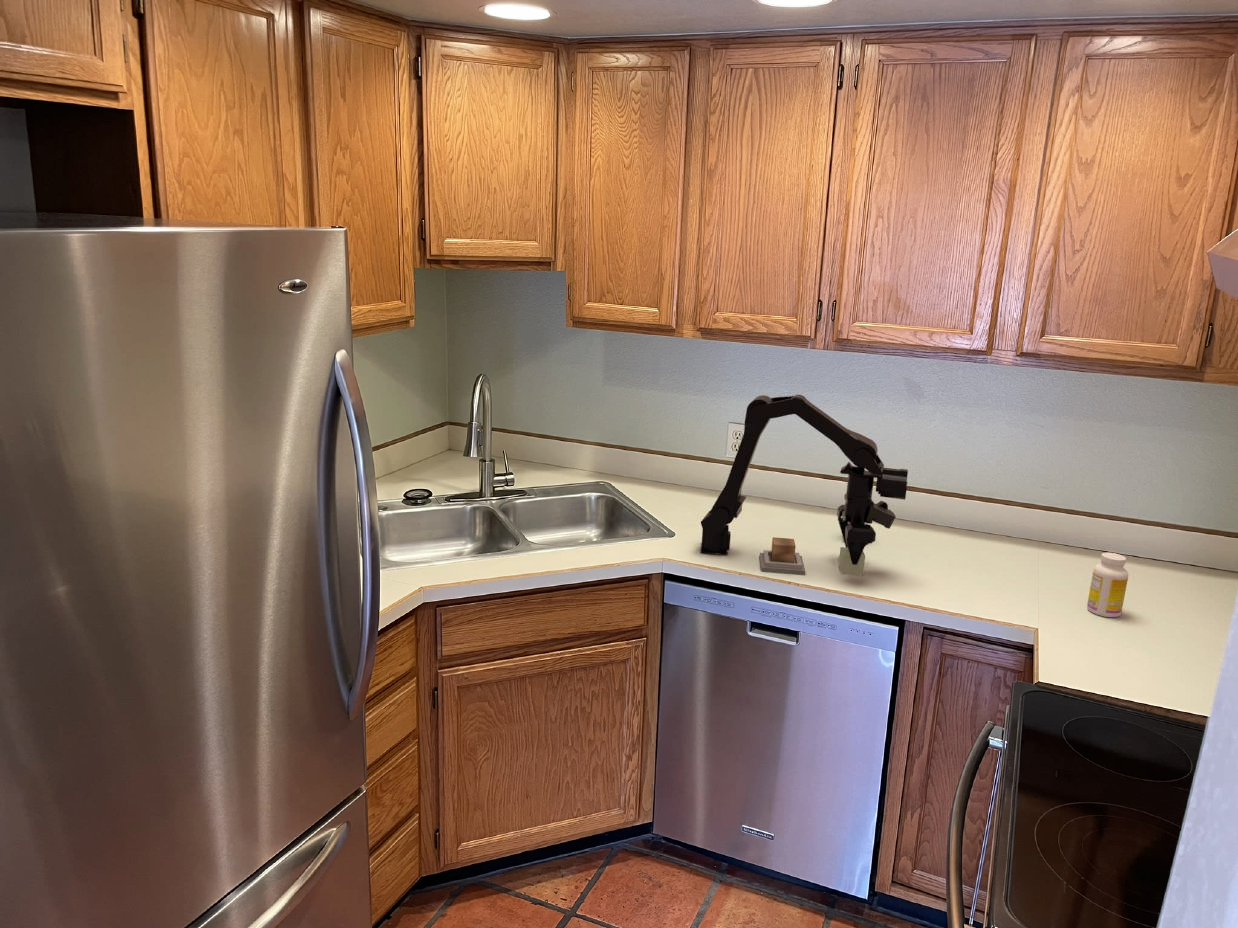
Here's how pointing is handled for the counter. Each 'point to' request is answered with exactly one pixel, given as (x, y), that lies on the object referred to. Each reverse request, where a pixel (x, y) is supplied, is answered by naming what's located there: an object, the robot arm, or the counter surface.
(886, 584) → the counter surface
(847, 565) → the sage block
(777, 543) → the walnut block
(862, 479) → the robot arm
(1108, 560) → the supplement bottle
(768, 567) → the base plate
